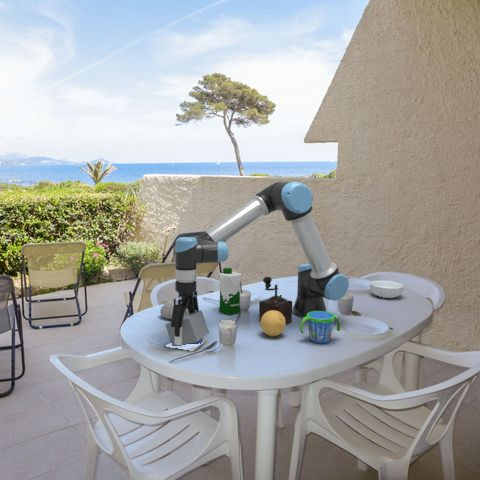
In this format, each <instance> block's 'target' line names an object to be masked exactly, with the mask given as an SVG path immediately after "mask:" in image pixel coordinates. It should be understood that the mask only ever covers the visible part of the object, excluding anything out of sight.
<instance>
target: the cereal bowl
mask: <svg viewBox="0 0 480 480" xmlns="http://www.w3.org/2000/svg"><path fill="white" fill-rule="evenodd" d="M369 290H370V291H371V293H372V294H374V295H375V296H379V297H378V298H380V297H384V298H383V299H385V298H392V299H394V298H396V297H399V296H401V294H402V293H403V292H404V285H403V284H402V283H400V282H396V281H393V280H392V281H391V280H373V281H370V283H369ZM393 297H394V298H393Z"/></svg>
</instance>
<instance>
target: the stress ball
mask: <svg viewBox="0 0 480 480" xmlns="http://www.w3.org/2000/svg"><path fill="white" fill-rule="evenodd" d="M285 320H286V319H285V317H284V316H283V315H282V314H281V312H279V311H275V310H271V311H268V312H266V313H265V314H264V315H263V316H262V318H261V322H259V323H260V328H261V330H262V332H264V334H265V335H267V336H269V337H272V338H274V337H277V336H279V335H281V334H282V333H283V332H284V331H285V329H286V327H287V324H286V321H285Z"/></svg>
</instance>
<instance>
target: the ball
mask: <svg viewBox="0 0 480 480" xmlns="http://www.w3.org/2000/svg"><path fill="white" fill-rule="evenodd" d="M203 340H204V337H203V338H201V339H200V340H199V341H197V342H194V343H190V344H199V343H200V344H201V343H202V342H203Z"/></svg>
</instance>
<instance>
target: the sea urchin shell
mask: <svg viewBox="0 0 480 480" xmlns="http://www.w3.org/2000/svg"><path fill="white" fill-rule="evenodd" d="M173 307H174V298H173V299H169V300H167V301H166V302H164V304H163V305H162V306H161V308H160V310H159V311H160V315H161V316H162V317H163V318H165V319H166V320H170V321H172V314H173ZM186 314H189V312H188V309H186V310H185V313H184V315H186Z"/></svg>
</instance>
